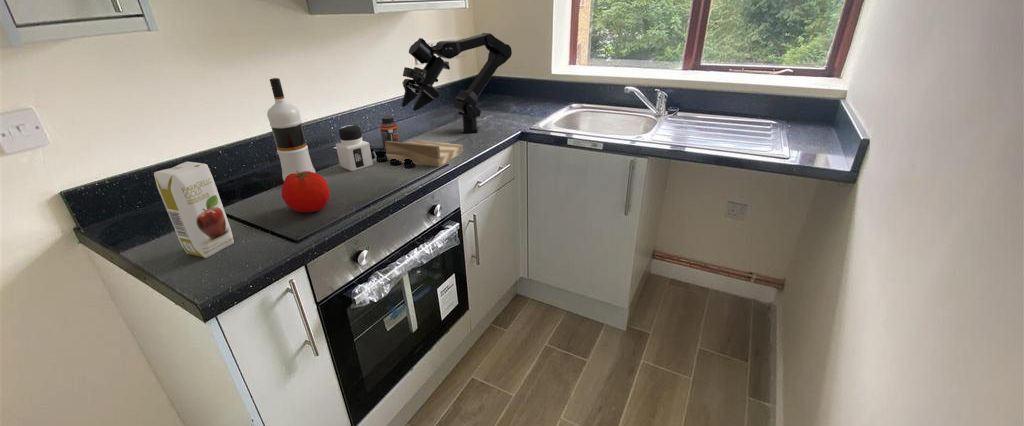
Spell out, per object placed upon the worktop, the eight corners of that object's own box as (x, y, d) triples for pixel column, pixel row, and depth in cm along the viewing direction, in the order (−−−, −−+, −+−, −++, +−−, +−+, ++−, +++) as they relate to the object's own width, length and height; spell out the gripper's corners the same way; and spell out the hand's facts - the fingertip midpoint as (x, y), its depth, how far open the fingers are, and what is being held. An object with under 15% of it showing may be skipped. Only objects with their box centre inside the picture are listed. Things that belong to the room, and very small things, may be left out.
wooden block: (414, 146, 162) (412, 129, 159) (463, 151, 154) (461, 133, 152) (387, 160, 148) (384, 141, 146) (439, 166, 141) (437, 147, 138)
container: (373, 165, 145) (366, 126, 139) (351, 171, 140) (343, 131, 134) (361, 160, 150) (354, 122, 144) (339, 166, 145) (331, 127, 139)
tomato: (309, 197, 122) (300, 162, 118) (344, 204, 117) (336, 168, 113) (274, 214, 113) (263, 177, 109) (310, 222, 108) (300, 184, 104)
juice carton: (180, 255, 96) (146, 173, 87) (216, 237, 103) (188, 159, 94) (205, 261, 93) (171, 177, 85) (240, 241, 100) (213, 162, 92)
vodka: (278, 186, 131) (248, 81, 117) (292, 174, 139) (266, 76, 126) (309, 185, 130) (283, 80, 117) (321, 173, 139) (298, 75, 126)
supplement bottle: (397, 150, 159) (393, 118, 154) (381, 150, 159) (376, 119, 154) (402, 145, 164) (397, 114, 159) (386, 145, 164) (381, 115, 159)
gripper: (403, 55, 161) (380, 91, 160) (427, 59, 148) (402, 99, 147) (425, 74, 169) (403, 109, 168) (450, 80, 155) (426, 117, 154)
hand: (408, 108), depth 159 cm, fingers open, 9 cm apart
